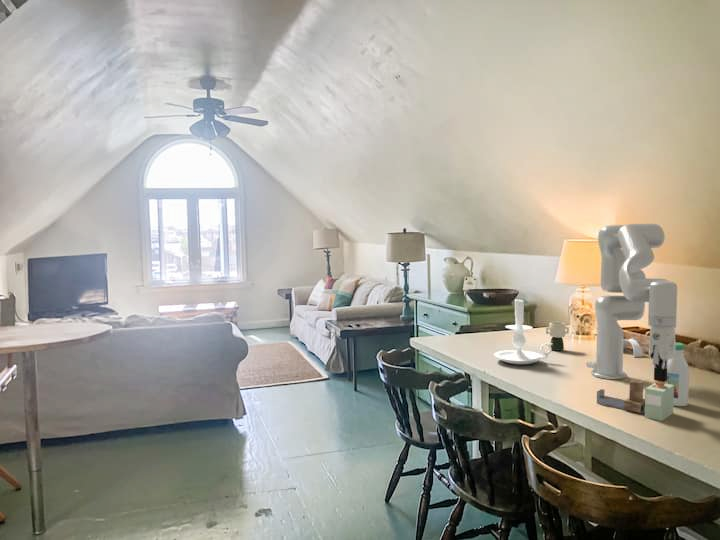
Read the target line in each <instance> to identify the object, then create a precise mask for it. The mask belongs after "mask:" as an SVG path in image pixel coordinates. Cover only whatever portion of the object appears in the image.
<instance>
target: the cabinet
mask: <svg viewBox="0 0 720 540" xmlns="http://www.w3.org/2000/svg"><path fill="white" fill-rule="evenodd" d="M644 399H645V414H644V418H647V419H650V420H655V421H660V422H663V421H664V420H666V419H668V418H669V417H671V416H672V415H673V414H674V406H673V403H674V385H671V384H664V389H662V388H656V383H655V382H654V383H652V384H651V385H649V386H647V387H645V393H644Z"/></svg>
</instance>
